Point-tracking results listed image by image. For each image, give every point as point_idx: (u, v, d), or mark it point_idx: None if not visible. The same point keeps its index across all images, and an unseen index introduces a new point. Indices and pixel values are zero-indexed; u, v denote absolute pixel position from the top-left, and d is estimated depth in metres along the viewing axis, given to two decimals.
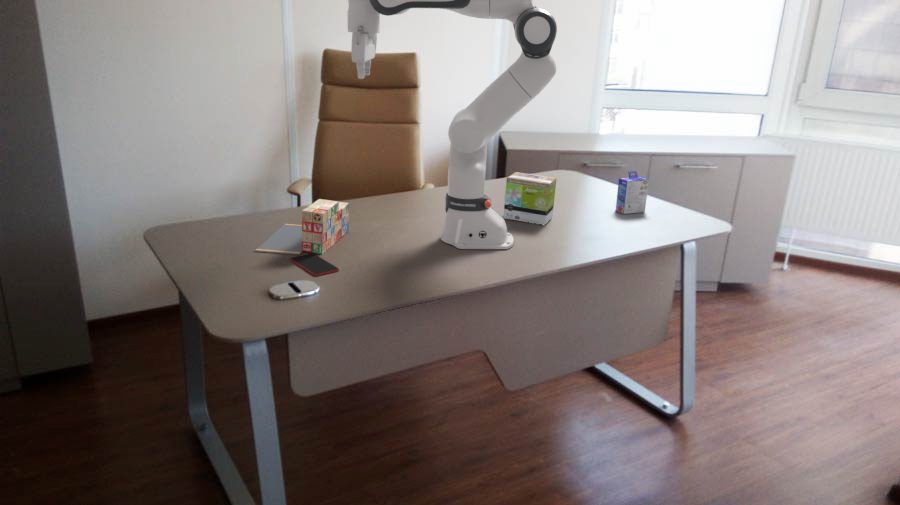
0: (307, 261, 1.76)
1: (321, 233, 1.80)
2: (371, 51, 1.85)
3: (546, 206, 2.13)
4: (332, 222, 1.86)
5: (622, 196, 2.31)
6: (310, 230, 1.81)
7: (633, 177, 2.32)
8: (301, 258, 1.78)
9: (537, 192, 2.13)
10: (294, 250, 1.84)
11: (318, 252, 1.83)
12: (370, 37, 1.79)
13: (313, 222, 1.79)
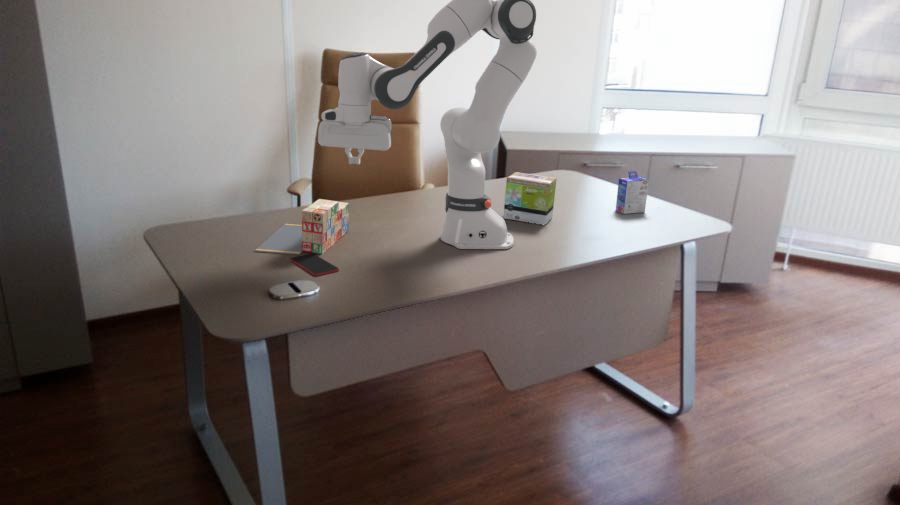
0: (307, 261, 1.76)
1: (321, 233, 1.80)
2: None
3: (546, 206, 2.13)
4: (332, 222, 1.86)
5: (622, 196, 2.31)
6: (310, 230, 1.81)
7: (633, 177, 2.32)
8: (301, 258, 1.78)
9: (537, 192, 2.13)
10: (294, 250, 1.84)
11: (318, 252, 1.83)
12: None
13: (313, 222, 1.79)
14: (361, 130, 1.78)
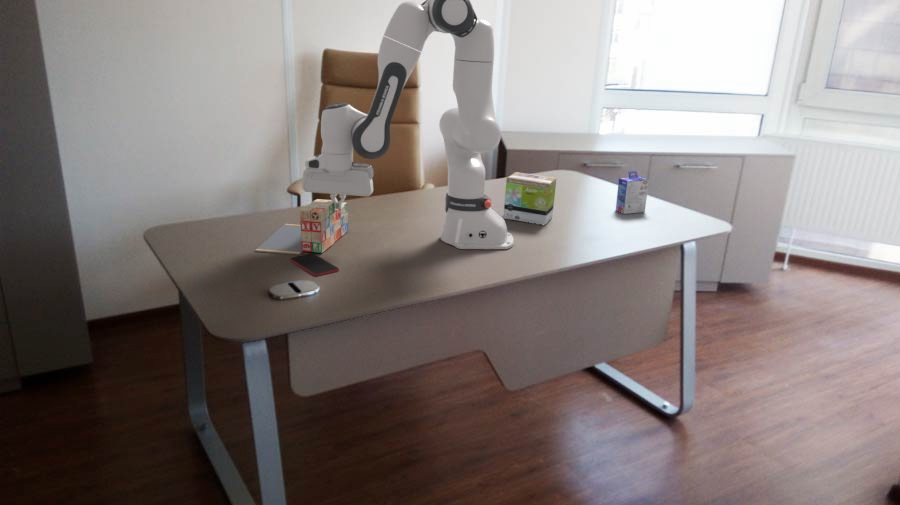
0: (307, 261, 1.76)
1: (320, 231, 1.80)
2: None
3: (546, 206, 2.13)
4: (331, 221, 1.87)
5: (622, 196, 2.31)
6: (309, 229, 1.81)
7: (633, 177, 2.32)
8: (301, 258, 1.78)
9: (537, 192, 2.13)
10: (294, 250, 1.84)
11: (318, 251, 1.82)
12: None
13: (311, 221, 1.80)
14: (344, 177, 1.84)
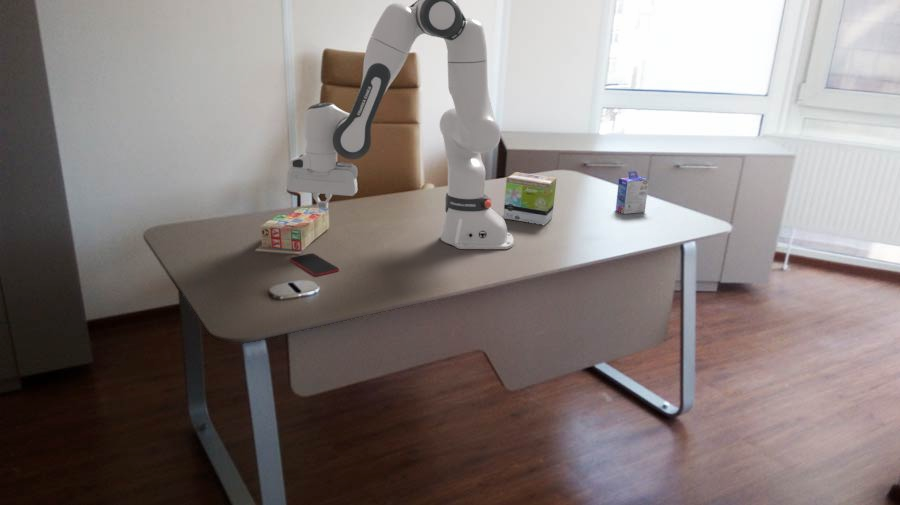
0: (307, 261, 1.76)
1: (279, 229, 1.82)
2: None
3: (546, 206, 2.13)
4: (287, 220, 1.89)
5: (622, 196, 2.31)
6: (279, 240, 1.84)
7: (633, 177, 2.32)
8: (301, 258, 1.78)
9: (537, 192, 2.13)
10: (294, 250, 1.84)
11: (299, 234, 1.82)
12: None
13: (271, 236, 1.84)
14: (328, 176, 1.84)
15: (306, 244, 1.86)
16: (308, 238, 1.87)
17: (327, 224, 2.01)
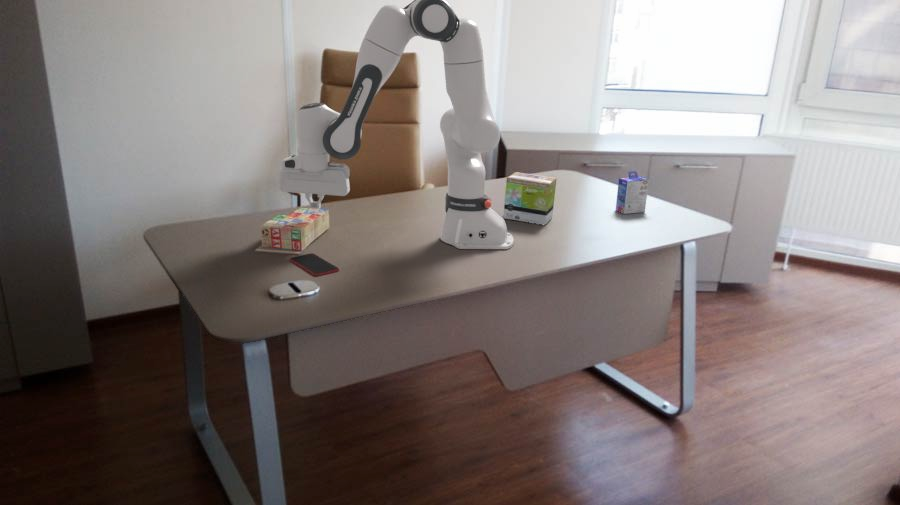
0: (307, 261, 1.76)
1: (279, 229, 1.82)
2: None
3: (546, 206, 2.13)
4: (287, 220, 1.89)
5: (622, 196, 2.31)
6: (279, 240, 1.84)
7: (633, 177, 2.32)
8: (301, 258, 1.78)
9: (537, 192, 2.13)
10: (294, 250, 1.84)
11: (299, 234, 1.82)
12: None
13: (271, 236, 1.84)
14: (320, 177, 1.84)
15: (306, 244, 1.86)
16: (308, 238, 1.87)
17: (327, 224, 2.01)
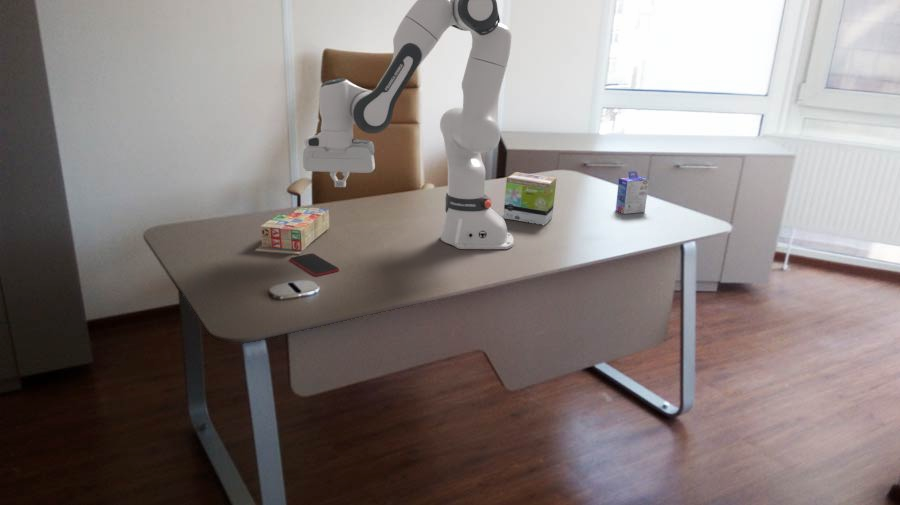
0: (307, 261, 1.76)
1: (279, 229, 1.82)
2: None
3: (546, 206, 2.13)
4: (287, 220, 1.89)
5: (622, 196, 2.31)
6: (279, 240, 1.84)
7: (633, 177, 2.32)
8: (301, 258, 1.78)
9: (537, 192, 2.13)
10: (294, 250, 1.84)
11: (299, 234, 1.82)
12: None
13: (271, 236, 1.84)
14: (344, 154, 1.81)
15: (306, 244, 1.86)
16: (308, 238, 1.87)
17: (327, 224, 2.01)
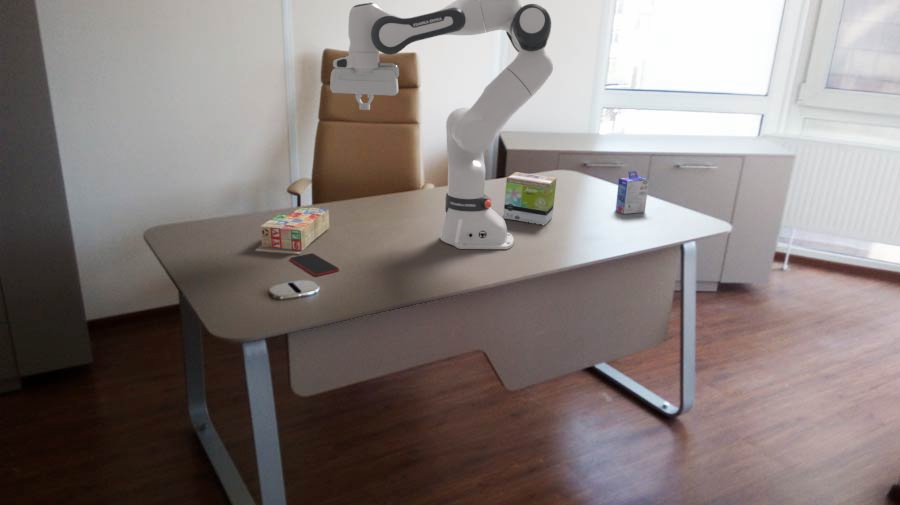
0: (307, 261, 1.76)
1: (279, 229, 1.82)
2: None
3: (546, 206, 2.13)
4: (287, 220, 1.89)
5: (622, 196, 2.31)
6: (279, 240, 1.84)
7: (633, 177, 2.32)
8: (301, 258, 1.78)
9: (537, 192, 2.13)
10: (294, 250, 1.84)
11: (299, 234, 1.82)
12: None
13: (271, 236, 1.84)
14: (370, 76, 1.91)
15: (306, 244, 1.86)
16: (308, 238, 1.87)
17: (327, 224, 2.01)
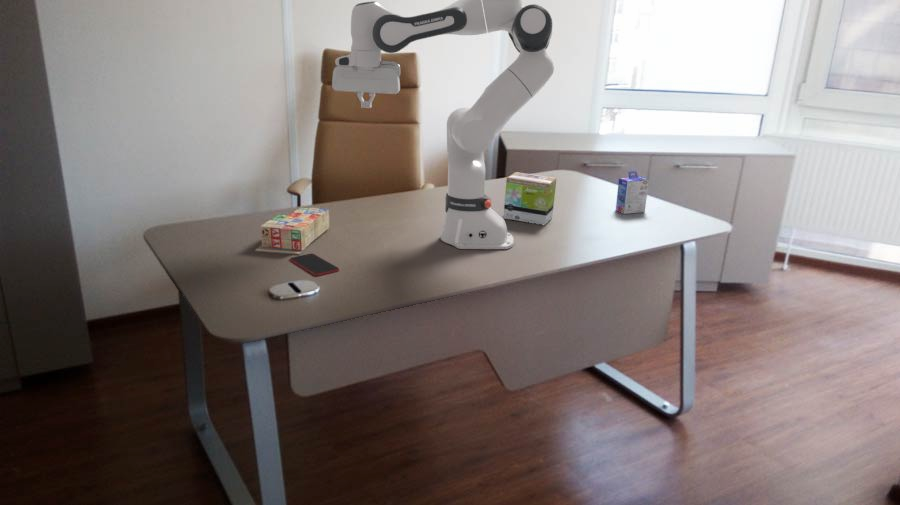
0: (307, 261, 1.76)
1: (279, 229, 1.82)
2: None
3: (546, 206, 2.13)
4: (287, 220, 1.89)
5: (622, 196, 2.31)
6: (279, 240, 1.84)
7: (633, 177, 2.32)
8: (301, 258, 1.78)
9: (537, 192, 2.13)
10: (294, 250, 1.84)
11: (299, 234, 1.82)
12: None
13: (271, 236, 1.84)
14: (372, 75, 1.92)
15: (306, 244, 1.86)
16: (308, 238, 1.87)
17: (327, 224, 2.01)
